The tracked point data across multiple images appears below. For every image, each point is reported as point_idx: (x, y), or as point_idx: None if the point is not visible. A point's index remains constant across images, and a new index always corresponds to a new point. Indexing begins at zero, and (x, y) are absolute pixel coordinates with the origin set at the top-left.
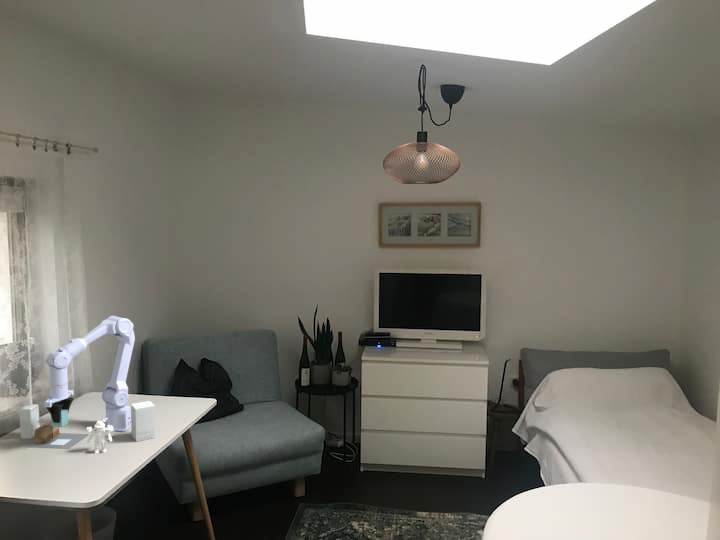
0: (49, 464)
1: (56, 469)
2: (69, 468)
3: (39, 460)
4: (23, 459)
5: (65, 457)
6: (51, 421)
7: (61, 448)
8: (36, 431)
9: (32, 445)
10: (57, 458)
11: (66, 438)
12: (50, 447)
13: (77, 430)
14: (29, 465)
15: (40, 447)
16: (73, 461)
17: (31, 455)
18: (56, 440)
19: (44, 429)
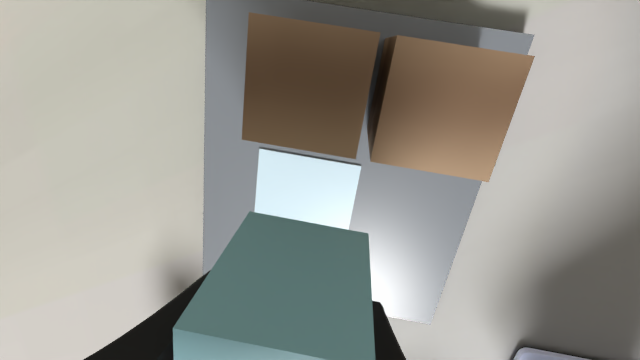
0: (52, 234)
1: (16, 281)
2: (41, 324)
3: (81, 166)
4: (71, 61)
5: (140, 276)
6: (230, 244)
7: (205, 242)
8: (251, 41)
9: (241, 24)
10: (122, 245)
11: (370, 215)
12: (214, 174)
13: (580, 208)
14: (13, 141)
15: (209, 107)
16: (106, 320)
17: (134, 83)
18: (331, 167)
19: (269, 123)
